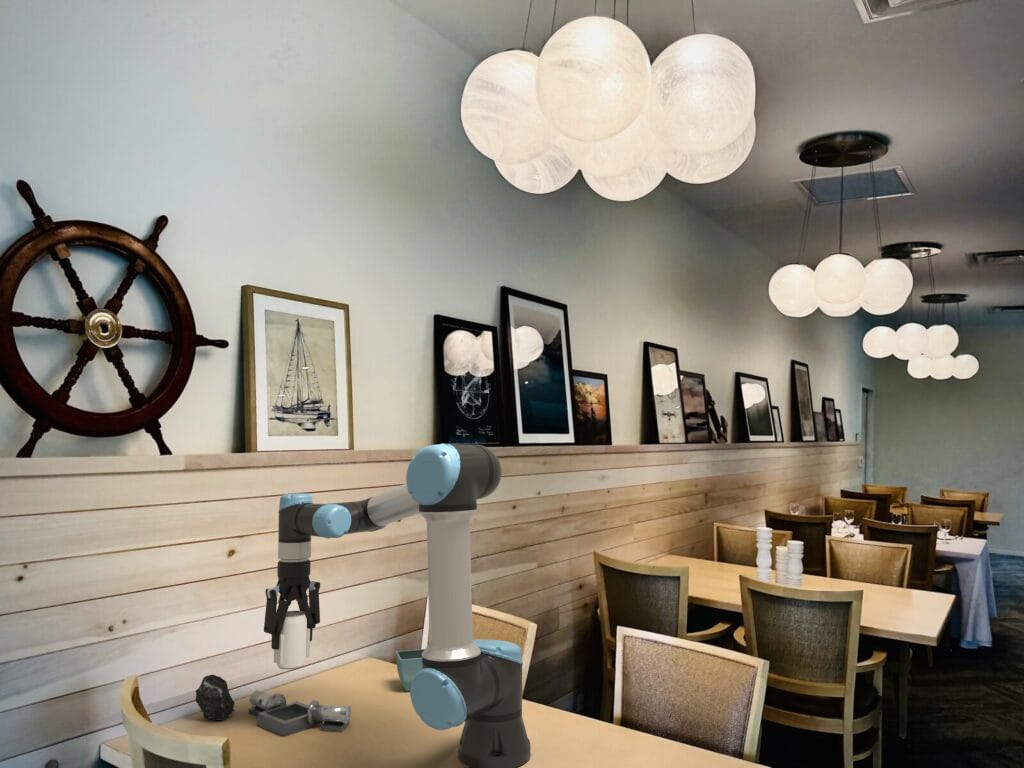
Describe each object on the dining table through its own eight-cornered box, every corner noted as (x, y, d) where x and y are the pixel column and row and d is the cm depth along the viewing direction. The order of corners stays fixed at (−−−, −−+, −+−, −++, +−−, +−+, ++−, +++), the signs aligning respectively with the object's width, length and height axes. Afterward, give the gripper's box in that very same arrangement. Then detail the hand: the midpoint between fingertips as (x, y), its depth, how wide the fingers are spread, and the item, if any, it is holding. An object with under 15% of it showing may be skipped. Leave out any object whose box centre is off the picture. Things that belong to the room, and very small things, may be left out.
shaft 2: (306, 730, 167) (307, 704, 168) (316, 721, 172) (316, 697, 173) (343, 732, 166) (343, 706, 166) (351, 724, 171) (352, 699, 171)
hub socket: (322, 723, 171) (322, 710, 172) (283, 736, 163) (283, 723, 164) (296, 713, 178) (296, 701, 178) (257, 725, 170) (258, 713, 170)
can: (297, 670, 168) (298, 616, 169) (271, 668, 169) (273, 615, 170) (310, 662, 174) (312, 610, 175) (285, 661, 176) (287, 609, 177)
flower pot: (394, 684, 199) (395, 650, 200) (427, 681, 202) (427, 648, 203) (399, 695, 191) (400, 659, 192) (433, 691, 194) (433, 656, 194)
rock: (191, 722, 172) (193, 678, 173) (212, 711, 179) (213, 669, 180) (220, 725, 170) (221, 681, 171) (239, 715, 177) (241, 672, 178)
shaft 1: (286, 715, 176) (286, 691, 177) (266, 721, 172) (267, 697, 173) (265, 707, 182) (266, 684, 182) (246, 713, 178) (247, 689, 178)
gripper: (319, 553, 184) (316, 648, 182) (248, 562, 169) (245, 666, 167) (337, 556, 179) (335, 653, 177) (266, 566, 164) (263, 672, 162)
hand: (291, 659), depth 172 cm, fingers closed on can, 6 cm apart
